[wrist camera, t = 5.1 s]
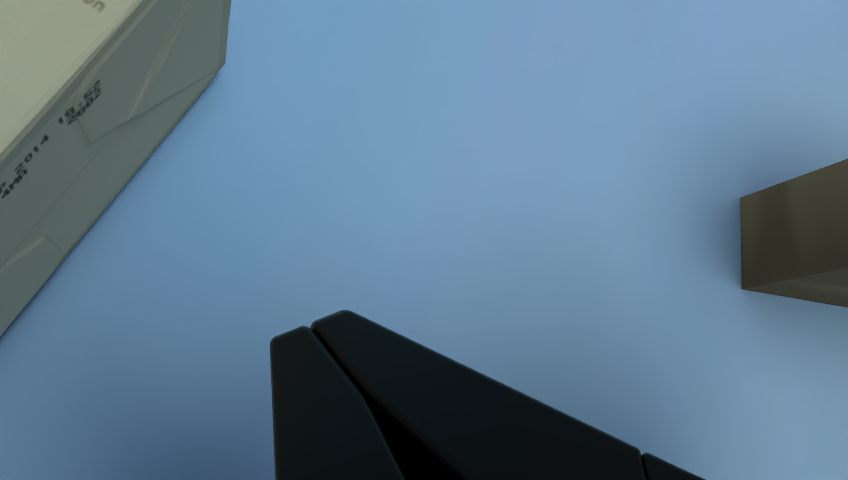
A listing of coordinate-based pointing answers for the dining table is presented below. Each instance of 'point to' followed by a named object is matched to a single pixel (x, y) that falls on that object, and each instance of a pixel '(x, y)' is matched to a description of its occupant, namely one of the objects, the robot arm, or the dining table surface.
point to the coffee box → (87, 115)
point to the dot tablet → (798, 237)
